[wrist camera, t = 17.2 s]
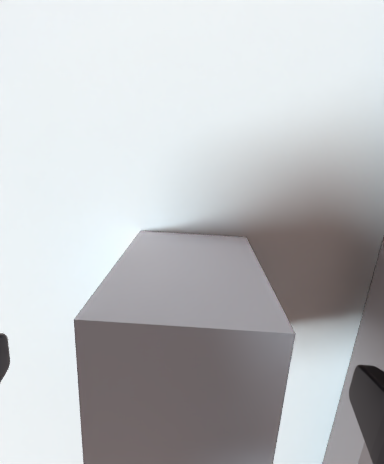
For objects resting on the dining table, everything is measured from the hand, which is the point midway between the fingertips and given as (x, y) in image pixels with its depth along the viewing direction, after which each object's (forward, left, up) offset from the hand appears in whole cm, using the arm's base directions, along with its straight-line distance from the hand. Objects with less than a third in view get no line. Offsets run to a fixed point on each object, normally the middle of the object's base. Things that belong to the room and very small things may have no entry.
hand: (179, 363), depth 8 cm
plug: (0, 0, -4) cm, 4 cm away
